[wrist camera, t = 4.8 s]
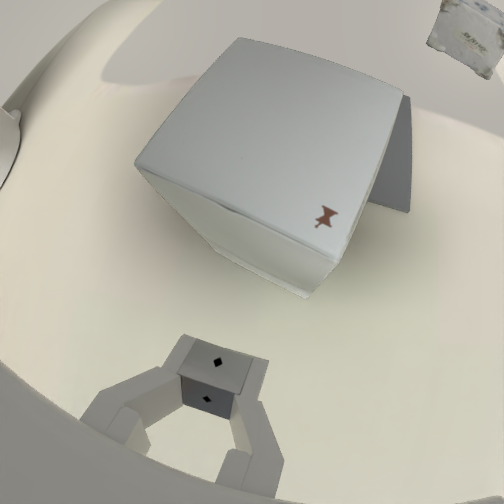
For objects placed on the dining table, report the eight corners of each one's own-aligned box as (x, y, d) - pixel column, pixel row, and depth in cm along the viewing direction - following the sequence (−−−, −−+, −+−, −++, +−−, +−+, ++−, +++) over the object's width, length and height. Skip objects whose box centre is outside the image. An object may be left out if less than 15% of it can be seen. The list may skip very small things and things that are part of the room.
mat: (209, 165, 23) (208, 162, 23) (254, 65, 26) (253, 62, 26) (407, 213, 21) (409, 210, 20) (408, 99, 24) (409, 97, 23)
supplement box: (352, 209, 21) (413, 91, 9) (306, 302, 20) (339, 273, 7) (263, 167, 22) (239, 31, 10) (212, 251, 21) (124, 165, 9)
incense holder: (423, 48, 27) (444, -12, 17) (433, 29, 28) (450, -22, 18) (487, 88, 24) (518, 34, 14) (488, 64, 26) (513, 17, 16)
